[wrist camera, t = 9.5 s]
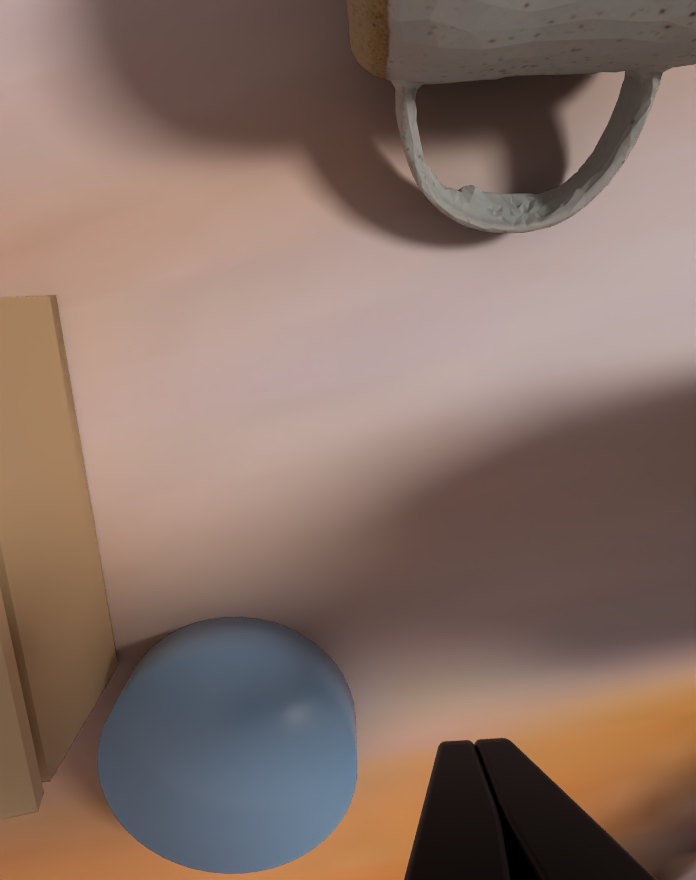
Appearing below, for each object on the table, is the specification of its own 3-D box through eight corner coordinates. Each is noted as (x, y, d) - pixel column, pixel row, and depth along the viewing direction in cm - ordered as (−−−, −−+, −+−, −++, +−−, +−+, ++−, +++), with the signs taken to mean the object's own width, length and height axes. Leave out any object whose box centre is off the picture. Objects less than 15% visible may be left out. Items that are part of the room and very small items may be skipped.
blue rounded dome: (402, 706, 22) (410, 757, 19) (256, 850, 23) (247, 913, 21) (220, 567, 20) (205, 603, 18) (77, 727, 22) (45, 781, 19)
